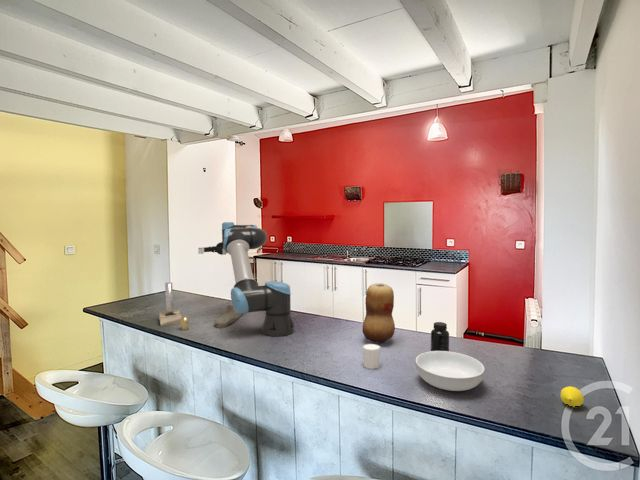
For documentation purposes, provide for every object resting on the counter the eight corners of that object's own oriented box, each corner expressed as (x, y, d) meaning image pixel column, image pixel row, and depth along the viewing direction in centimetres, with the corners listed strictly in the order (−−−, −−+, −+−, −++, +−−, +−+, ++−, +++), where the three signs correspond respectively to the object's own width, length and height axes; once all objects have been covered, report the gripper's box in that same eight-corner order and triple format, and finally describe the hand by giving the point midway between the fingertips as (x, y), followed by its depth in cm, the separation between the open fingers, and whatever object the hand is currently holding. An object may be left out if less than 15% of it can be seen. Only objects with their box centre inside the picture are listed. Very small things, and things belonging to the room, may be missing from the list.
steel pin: (174, 321, 189) (172, 283, 188) (166, 322, 188) (165, 283, 186) (173, 319, 192) (171, 282, 191) (166, 320, 191) (164, 282, 189)
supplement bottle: (426, 352, 144) (427, 322, 143) (441, 349, 146) (441, 320, 146) (438, 358, 137) (438, 327, 137) (452, 355, 140) (453, 325, 139)
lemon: (562, 400, 107) (563, 381, 107) (584, 406, 103) (585, 387, 103) (557, 406, 102) (558, 386, 102) (581, 413, 98) (582, 393, 98)
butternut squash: (377, 350, 146) (377, 288, 145) (356, 340, 157) (356, 283, 156) (401, 343, 154) (402, 284, 152) (380, 334, 165) (380, 280, 163)
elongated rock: (208, 331, 178) (228, 332, 177) (208, 320, 177) (228, 322, 176) (232, 309, 212) (249, 310, 211) (233, 300, 212) (249, 301, 211)
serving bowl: (405, 388, 114) (405, 366, 114) (426, 365, 131) (426, 346, 131) (476, 407, 102) (477, 383, 102) (489, 379, 120) (490, 358, 119)
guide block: (181, 323, 186) (181, 316, 186) (160, 325, 182) (160, 318, 181) (179, 316, 198) (178, 310, 198) (159, 318, 194) (158, 312, 194)
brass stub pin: (189, 329, 175) (189, 317, 174) (181, 331, 173) (181, 318, 172) (187, 328, 178) (187, 315, 177) (180, 329, 176) (179, 316, 175)
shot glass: (368, 360, 136) (368, 342, 136) (384, 365, 132) (384, 346, 131) (358, 366, 131) (358, 347, 130) (374, 371, 126) (374, 351, 126)
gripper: (243, 254, 222) (233, 258, 201) (203, 254, 224) (189, 258, 202) (243, 241, 222) (233, 244, 200) (203, 242, 223) (188, 244, 202)
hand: (211, 251), depth 201 cm, fingers open, 13 cm apart
